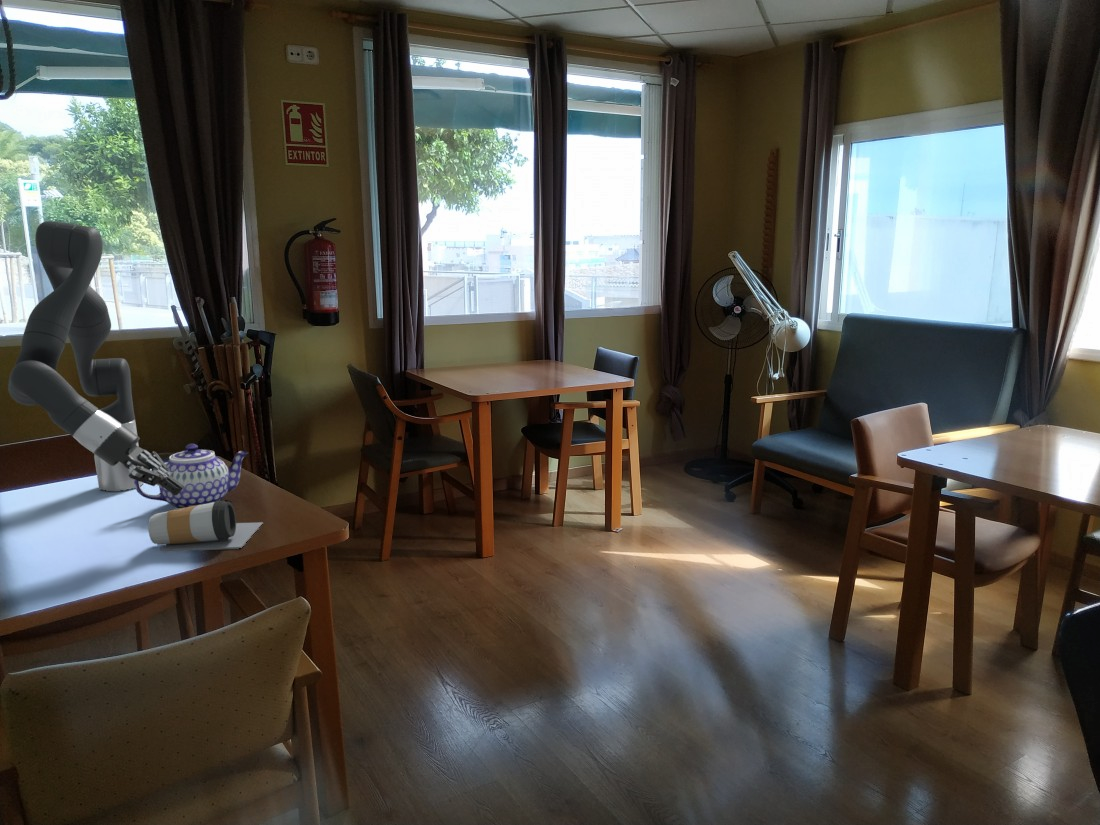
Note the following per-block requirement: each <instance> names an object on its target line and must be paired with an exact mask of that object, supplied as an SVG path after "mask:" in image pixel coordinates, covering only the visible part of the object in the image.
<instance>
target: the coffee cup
mask: <svg viewBox="0 0 1100 825" xmlns="http://www.w3.org/2000/svg"><path fill="white" fill-rule="evenodd" d="M236 523H237V518H236V511H235V507H234V506H233V503H232V502H230V501H225V500H222V499H221V500H220V501H215V502H213V503H208V504H203V505H201V504H200V505H195V506H190V507H185V508H180V509H175V508H174V509H172V510H171V509H170V510H167V511H163V512H159V513H155V514H153V515H151V516H150V518H149V520H148V528H147V530H148V536H149V539H150V541H151V543H153V544H154V545H157V546H162V545H166V544H181V543H194V542H204V541H214V540H220V541H222V540H226V539H228V538H229V537H232V536H234V534H235V531H236Z"/></svg>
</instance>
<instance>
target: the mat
mask: <svg viewBox="0 0 1100 825" xmlns="http://www.w3.org/2000/svg"><path fill="white" fill-rule="evenodd" d="M262 524H263V525H264V522H263V521H261V522H236V531H235V534H234V536H232V537H229V538H228V539H226V540H222V541H220V540H214V541H204V542H194V543H181V544H164V546H163V547H161V549H160V552H182V551H210V550H211V551H212V550H213V551H214V550H239V548H242V547H243V546H245V545H247V543H248V542H249V541H250V540H251V539H250V538H252V537H253V536H254V535H255V534H256V533H257V532H258V531H259V530H260V528H261V527H262V526H263V525H262ZM261 525H262V526H261ZM260 526H261V527H260ZM259 527H260V528H259ZM257 530H258V531H257ZM256 531H257V532H256ZM255 532H256V533H255ZM254 533H255V534H254ZM253 534H254V535H253ZM252 535H253V536H252ZM251 536H252V537H251ZM249 539H250V540H249ZM248 540H249V541H248ZM247 541H248V542H247ZM246 542H247V543H246ZM243 548H244V547H243ZM243 548H242V549H243Z"/></svg>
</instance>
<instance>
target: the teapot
mask: <svg viewBox="0 0 1100 825" xmlns="http://www.w3.org/2000/svg"><path fill="white" fill-rule="evenodd" d="M198 448H199V446H198V445H197V444H195V443H188V444H187V445H185V450H182V451H179V452H176V453H173V454H171V455H169V457H168V458H169V460H168V461H167V462H166V463H165V464H166V466H167V467H168V468H169V471H168V472H169V473H170V476H171V477H173V478H174V479H175V480H177V481H178V482H179V483H181V484H182V485H183V486H184V488H183V489H182V490H181V491H180V493H179V494H178V495H173V494H172V493H171V492H169V491H168V490H166V489H165V488H164V487H162V486H161V485H160V486H159V487H158V488H159V493H158V494H148V493H146V492H144V491H143V489H142V488H141V486H139V481H137V480H134V485H135V488H134V489H135V490H136V492H137V493H138V494H139V495H141V497H143V498H146V499H149V500H155V501H162V502H166V503H168V504H169V505H171V506H173V507H174V510H175V509H180V508H185V507H190V506H195V505H200V504H201V505H203V504H208V503H213V502H215V501H222V499H223V498H224V497H225V496H226V495H227V494H228V493H229V492H232V491H233V490H234V489H236V488H237V486H238V485H239V483H240V479H241V471H242V462H243V459H244V458H245V457H246V456H247V455H249V452H248V451H245V450H240V451H238V452H237V453H236V454H235V455H234V458H233V459H232V462H231V464H229V465H226V463H225V462H224V460H222V459H220V458H218V457H217V456H216V454H215V451H214V450H210V449H198Z"/></svg>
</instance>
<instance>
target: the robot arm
mask: <svg viewBox="0 0 1100 825" xmlns="http://www.w3.org/2000/svg"><path fill="white" fill-rule="evenodd" d="M34 238H35V249H36V252H37V255H38V258H39V260H40V263H41V265H42V268H43V270H44V272H45V274H46V276H47V278H48V281H49V282H50V284H51V287H52V290H53V291H52V292H50V293H49V294H47V295H46V296H45V297H44V298H42V299H41V300H40V301H39V302H38V303H37V304H36V305H35V306H34V307H33V309H32V310H31V312H30V315H29V316H28V319H27V323H26V325H25V327H24V331H23V336H22V339H21V343H20V344H21V345H20V351H19V353H18V357H17V360H16V362H15V365H14V367H13V368H12V370H11V371H10V374H9V379H8V383H7V390H8V394H9V395H10V397H11V399H12V400H14V401H15V402H16V403H18V404H20V405H23V406H29V407H30V406H33V407H34V406H37V405H38V406H40V407H41V408H42V409H43V410H44V411H46V412H47V415H48V416H49V419H50V420H51V422H53V423H54V424H55V425H56V426H58V427H59V428H60V429H62V431H64V432H65V433H66V434H68V435H69V436H71V437H73V438H74V439H75V440H76V441H77V442H78V443H79V444H80V445H81V446H83V447H84V448H85V449H87V450H89V451H90V452H92V454H94V456H93V458H94V463H95V470H96V477H97V478H96V479H97V485H98V490H99V491H105V490H106V492H121V491H120V490H123V491H127V490H126V489H129V490H132V489H131V488H133V489H136V488H135V485H134V480H137V481H139V486H140V487H141V486H143V485H144V484H146V485H148V486H152V487H155V486H160V485H161V486H162V487H164V488H165V489H166V490H168V491H169V492H171V493H172V494H173V495H178V494H179V493H180V491H181V490H182V489H183V488H184V486H183V485H182V484H181V483H179V482H178V481H177V480H175V479H174V478H173V477H171V476H170V473H169V472H168V471H169V468H168V467H167V466H166V463H165V461H164V460H163V459H162V457H160V456H159V454H158V453H157V452H156V451H154V450H153V451H152V452H151V453H150V452H149V451H148V450H147V449H144V448H142V447H140V446H139V442H140V436H138V431H137V424H136V415H135V411H134V410H135V409H134V403H133V395H132V393H133V391H132V378H131V370H130V369H131V368H130V364H129V363H128V361H127V359H125V358H123V357H122V358H121V357H116V358H98V359H97V358H96V359H93V358H94V357H95V355H96V352H97V351H98V350H99V349H100V348H101V347H102V345H103V344H104V343H105V341H106V340H107V338H108V337H109V335H110V333H111V330H112V322H111V318H110V314H109V313H110V312H109V310H108V306H107V303H106V301H105V299H104V298H103V297H102V296H101V295H100V294H99V293H98V292H97V291H96V290H95V289H94V288H93V287H92V286H91V285H90V284H91V282H92V280H93V278H94V276H95V273H96V272H97V270H98V268H99V265H100V263H101V260H102V256H103V249H104V247H103V246H104V244H103V243H104V242H103V239H102V238H103V237H102V236H101V233H100V231H98V229H96V228H94V227H92V226H87V225H81V224H75V223H68V222H63V221H56V220H55V221H54V220H48V221H47V220H46V221H43V222H41V223H40V224H39V225H38V226H37V227H36V231H35V237H34ZM68 339H69V342H70V345H71V348H72V351H73V355H74V359H75V364H76V369H77V373H78V374H77V375H78V378H79V383H80V386H81V388H82V390H83V392H84V394H85V395H87V396H89V397H108V396H117V399H116V400H115V401H114V402H111V404H109V405H108V406H105V407H102V408H100V409H99V408H98V407H97V406H95V405H94V404H93V403H91V402H90V401H89V400H87V399H86V398H84V397H83V396H82V395H80V394H79V393H78V392H77V390H75V389H74V387H73V386H72V385H70V384H69V382H68V381H67V380H66V379H65V378H64V377H63V376H62V375H61V374H60V373H58V371H57V368H58V364H59V360H60V358H61V356H62V354H63V351H64V349H65V346H66V343H67V340H68ZM142 484H143V485H142ZM101 489H102V490H101Z"/></svg>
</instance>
